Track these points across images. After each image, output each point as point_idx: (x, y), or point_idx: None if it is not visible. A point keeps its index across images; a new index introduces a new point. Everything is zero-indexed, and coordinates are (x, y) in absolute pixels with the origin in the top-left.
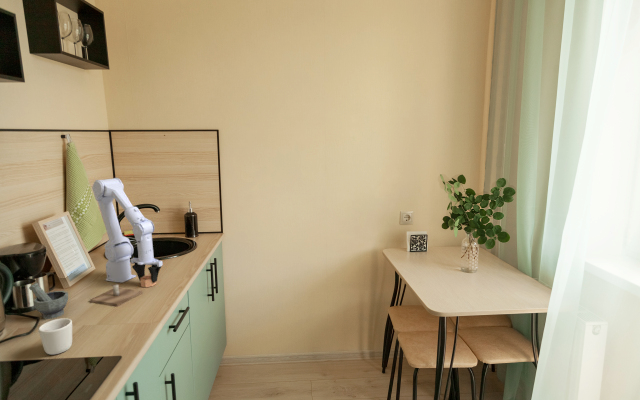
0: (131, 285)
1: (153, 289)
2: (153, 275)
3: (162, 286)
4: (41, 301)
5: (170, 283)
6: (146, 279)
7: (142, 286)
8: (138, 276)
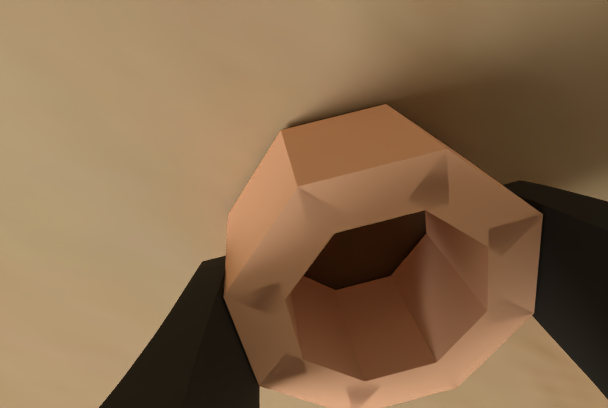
0: (599, 54)
1: (74, 149)
2: (114, 405)
3: (87, 292)
4: None
5: (109, 392)
6: (318, 231)
7: (355, 112)
8: (604, 208)
